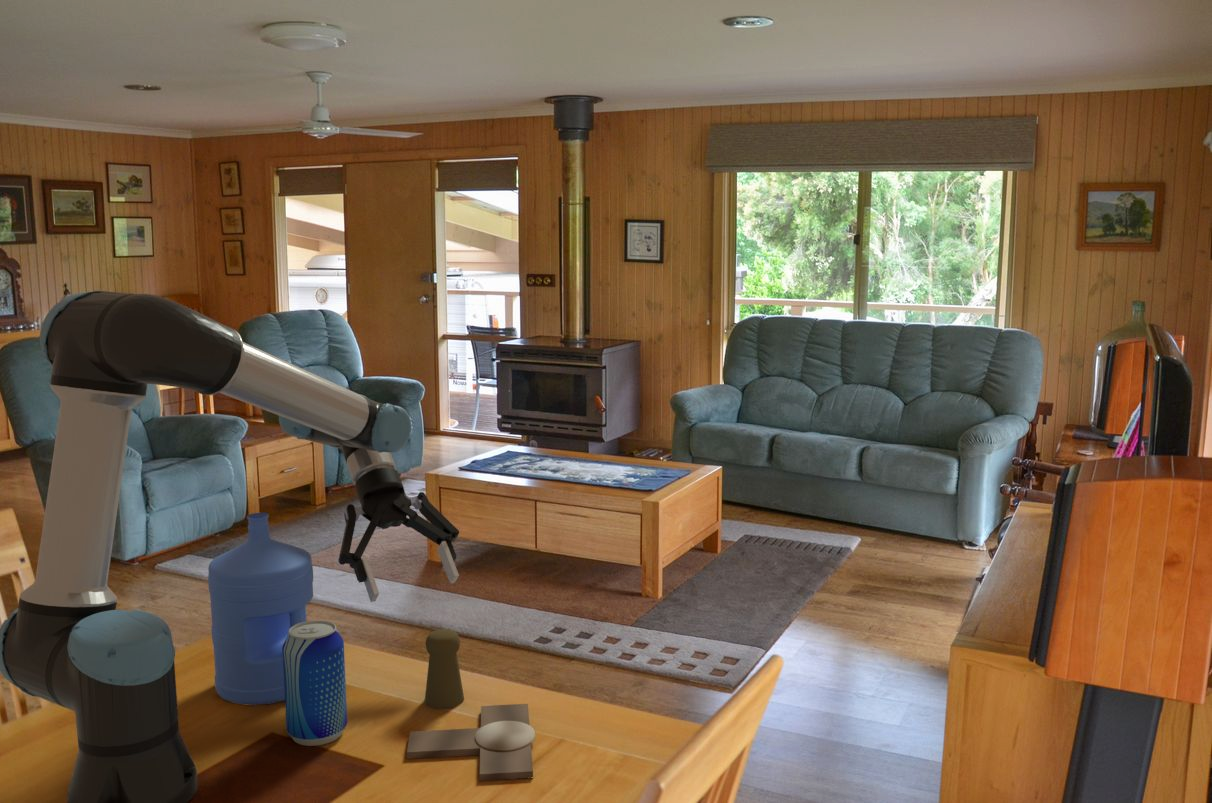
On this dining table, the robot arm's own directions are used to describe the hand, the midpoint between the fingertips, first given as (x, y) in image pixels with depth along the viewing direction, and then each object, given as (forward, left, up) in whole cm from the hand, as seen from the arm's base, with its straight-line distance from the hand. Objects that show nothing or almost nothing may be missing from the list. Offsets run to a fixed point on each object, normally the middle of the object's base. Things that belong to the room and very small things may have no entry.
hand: (415, 588), depth 166 cm
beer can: (+3, -22, -15) cm, 27 cm away
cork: (+9, -3, -15) cm, 18 cm away
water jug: (-17, -17, -15) cm, 28 cm away
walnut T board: (+23, -10, -15) cm, 29 cm away
